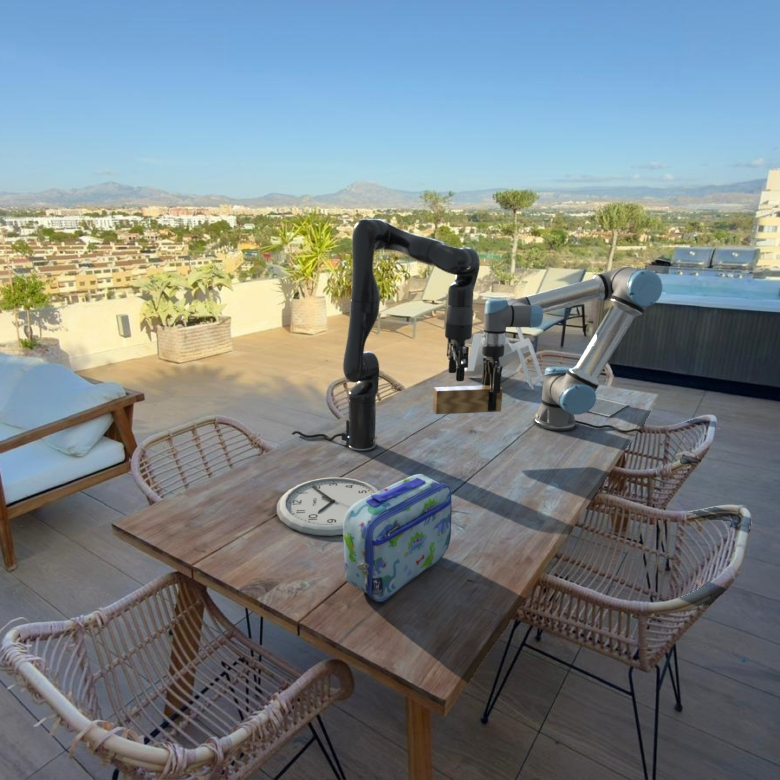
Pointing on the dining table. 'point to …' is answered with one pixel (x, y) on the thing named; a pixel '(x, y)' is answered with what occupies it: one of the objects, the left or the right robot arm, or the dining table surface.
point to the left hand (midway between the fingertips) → (455, 376)
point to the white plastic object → (509, 355)
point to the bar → (464, 399)
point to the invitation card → (606, 407)
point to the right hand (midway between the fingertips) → (489, 407)
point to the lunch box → (396, 535)
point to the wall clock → (321, 504)
